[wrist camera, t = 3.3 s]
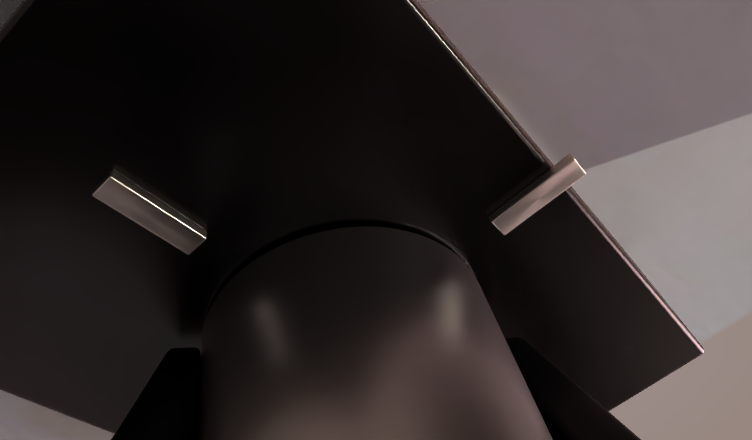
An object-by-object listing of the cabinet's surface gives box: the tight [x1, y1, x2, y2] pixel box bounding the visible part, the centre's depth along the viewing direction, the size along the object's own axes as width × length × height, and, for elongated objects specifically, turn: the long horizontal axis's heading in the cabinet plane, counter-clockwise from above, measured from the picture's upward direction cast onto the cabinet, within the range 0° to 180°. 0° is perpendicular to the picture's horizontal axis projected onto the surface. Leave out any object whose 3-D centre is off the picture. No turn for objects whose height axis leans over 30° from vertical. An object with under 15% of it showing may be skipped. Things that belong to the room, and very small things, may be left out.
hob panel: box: [0, 0, 704, 434], centre depth 11 cm, size 12×9×3 cm
